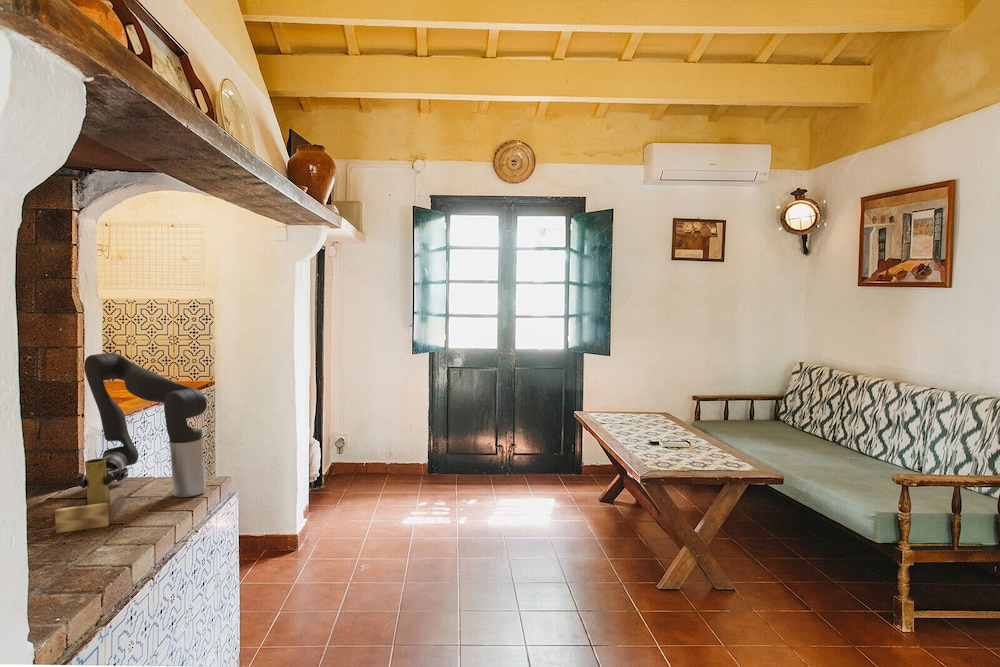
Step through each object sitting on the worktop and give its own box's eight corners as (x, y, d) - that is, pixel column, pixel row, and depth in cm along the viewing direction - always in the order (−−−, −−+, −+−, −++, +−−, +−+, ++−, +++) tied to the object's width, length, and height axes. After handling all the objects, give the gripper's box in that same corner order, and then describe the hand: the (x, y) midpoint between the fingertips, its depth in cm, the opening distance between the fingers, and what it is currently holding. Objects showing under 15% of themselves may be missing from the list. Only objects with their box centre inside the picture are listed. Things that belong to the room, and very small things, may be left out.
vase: (99, 511, 190) (95, 463, 189) (82, 510, 191) (77, 463, 190) (116, 504, 196) (112, 457, 194) (98, 503, 197) (94, 457, 196)
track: (124, 502, 199) (123, 483, 199) (107, 526, 178) (105, 504, 178) (79, 508, 195) (78, 488, 195) (56, 532, 174) (54, 511, 174)
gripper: (81, 460, 204) (65, 474, 188) (133, 454, 208) (121, 467, 192) (83, 483, 204) (67, 499, 188) (135, 477, 209) (123, 492, 193)
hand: (94, 483), depth 190 cm, fingers closed on vase, 5 cm apart
